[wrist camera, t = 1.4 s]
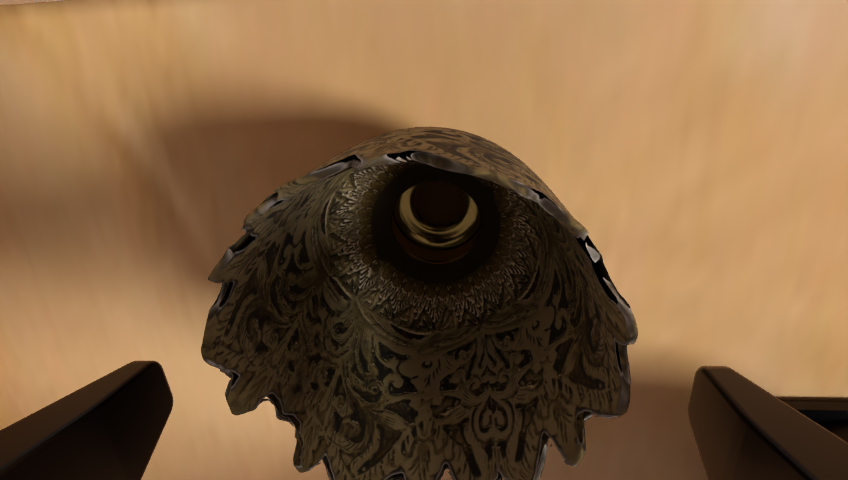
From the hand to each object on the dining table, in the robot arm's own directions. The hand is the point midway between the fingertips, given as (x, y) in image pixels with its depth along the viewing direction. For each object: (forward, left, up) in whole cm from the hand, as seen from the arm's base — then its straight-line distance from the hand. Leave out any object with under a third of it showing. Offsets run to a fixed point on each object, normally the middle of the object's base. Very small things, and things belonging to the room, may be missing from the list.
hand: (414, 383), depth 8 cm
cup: (0, 0, -8) cm, 8 cm away
